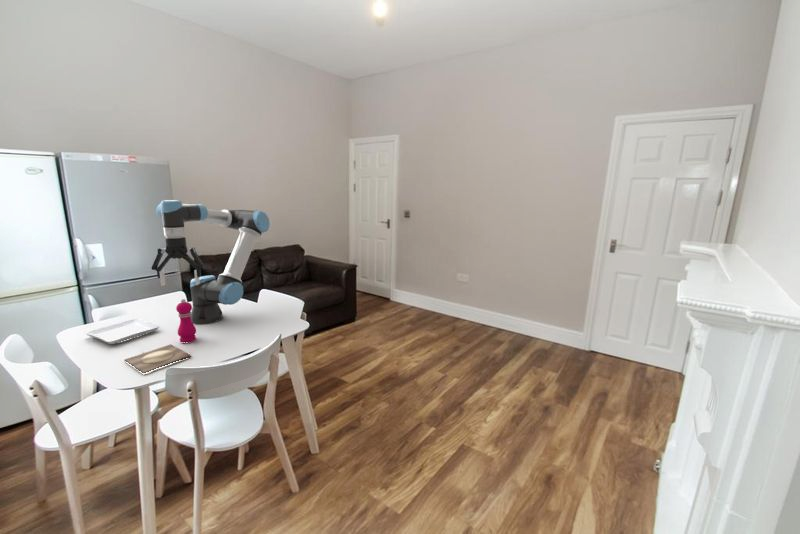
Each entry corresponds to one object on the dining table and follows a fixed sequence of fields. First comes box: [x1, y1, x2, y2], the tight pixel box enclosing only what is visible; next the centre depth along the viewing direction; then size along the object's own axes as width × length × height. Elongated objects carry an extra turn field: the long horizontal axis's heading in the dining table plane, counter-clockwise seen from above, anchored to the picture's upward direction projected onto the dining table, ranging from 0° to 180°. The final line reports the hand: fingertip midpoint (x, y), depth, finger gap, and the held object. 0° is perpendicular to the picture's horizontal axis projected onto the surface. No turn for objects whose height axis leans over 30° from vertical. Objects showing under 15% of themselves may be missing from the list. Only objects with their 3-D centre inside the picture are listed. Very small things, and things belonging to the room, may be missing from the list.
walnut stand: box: [124, 343, 192, 373], centre depth 141 cm, size 17×17×2 cm
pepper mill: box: [175, 298, 197, 344], centre depth 157 cm, size 7×7×20 cm
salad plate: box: [85, 318, 160, 345], centre depth 163 cm, size 21×21×3 cm
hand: (180, 284), depth 153 cm, fingers open, 13 cm apart
